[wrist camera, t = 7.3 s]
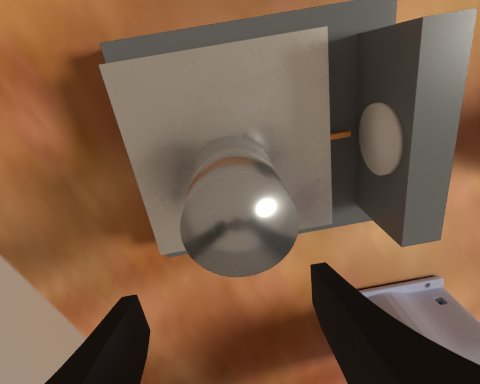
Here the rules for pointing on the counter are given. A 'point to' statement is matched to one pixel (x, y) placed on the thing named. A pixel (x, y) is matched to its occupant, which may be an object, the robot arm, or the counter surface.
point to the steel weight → (237, 210)
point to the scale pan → (227, 119)
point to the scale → (368, 104)
